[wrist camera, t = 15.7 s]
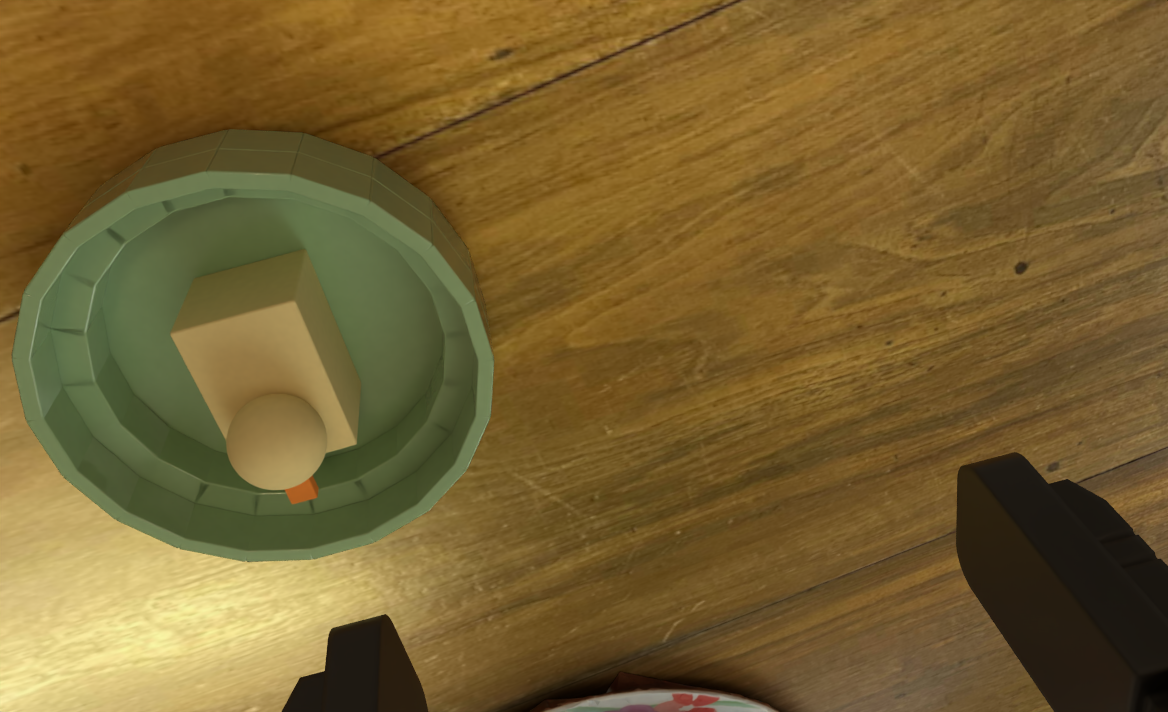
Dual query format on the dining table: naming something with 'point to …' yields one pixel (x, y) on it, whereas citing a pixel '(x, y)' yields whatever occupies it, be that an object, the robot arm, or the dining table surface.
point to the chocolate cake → (655, 699)
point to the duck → (271, 370)
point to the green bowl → (166, 387)
